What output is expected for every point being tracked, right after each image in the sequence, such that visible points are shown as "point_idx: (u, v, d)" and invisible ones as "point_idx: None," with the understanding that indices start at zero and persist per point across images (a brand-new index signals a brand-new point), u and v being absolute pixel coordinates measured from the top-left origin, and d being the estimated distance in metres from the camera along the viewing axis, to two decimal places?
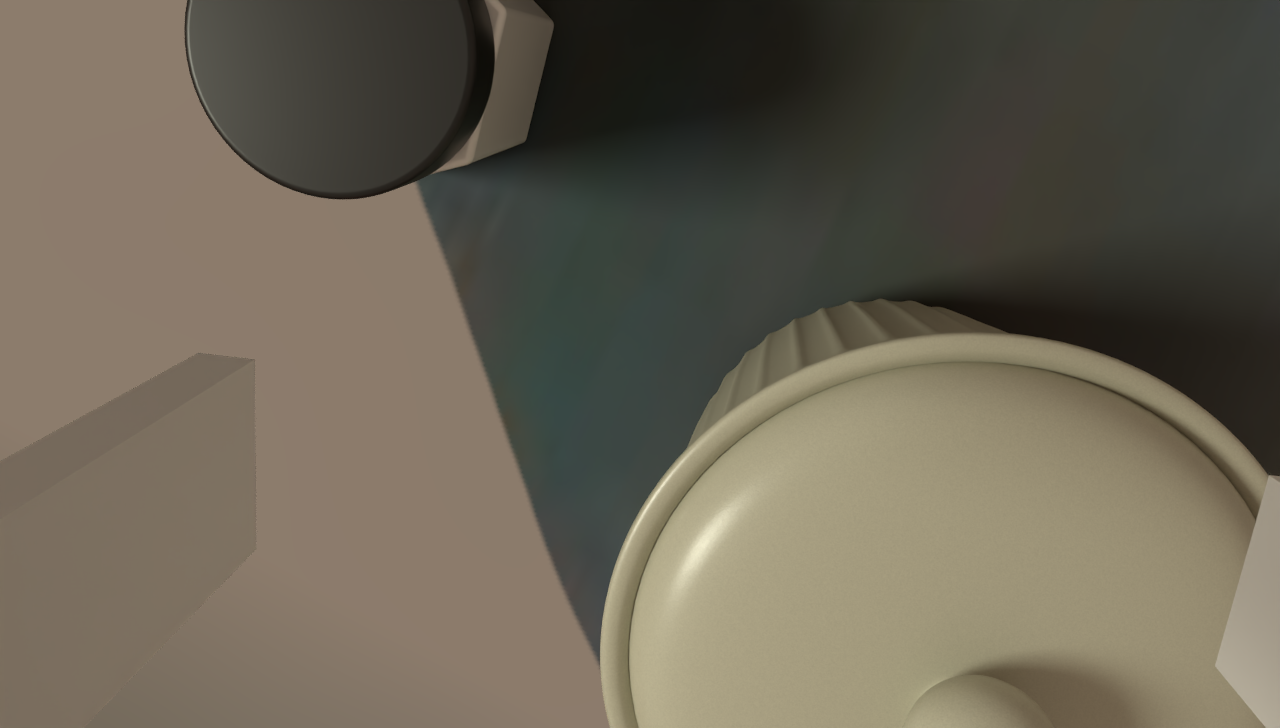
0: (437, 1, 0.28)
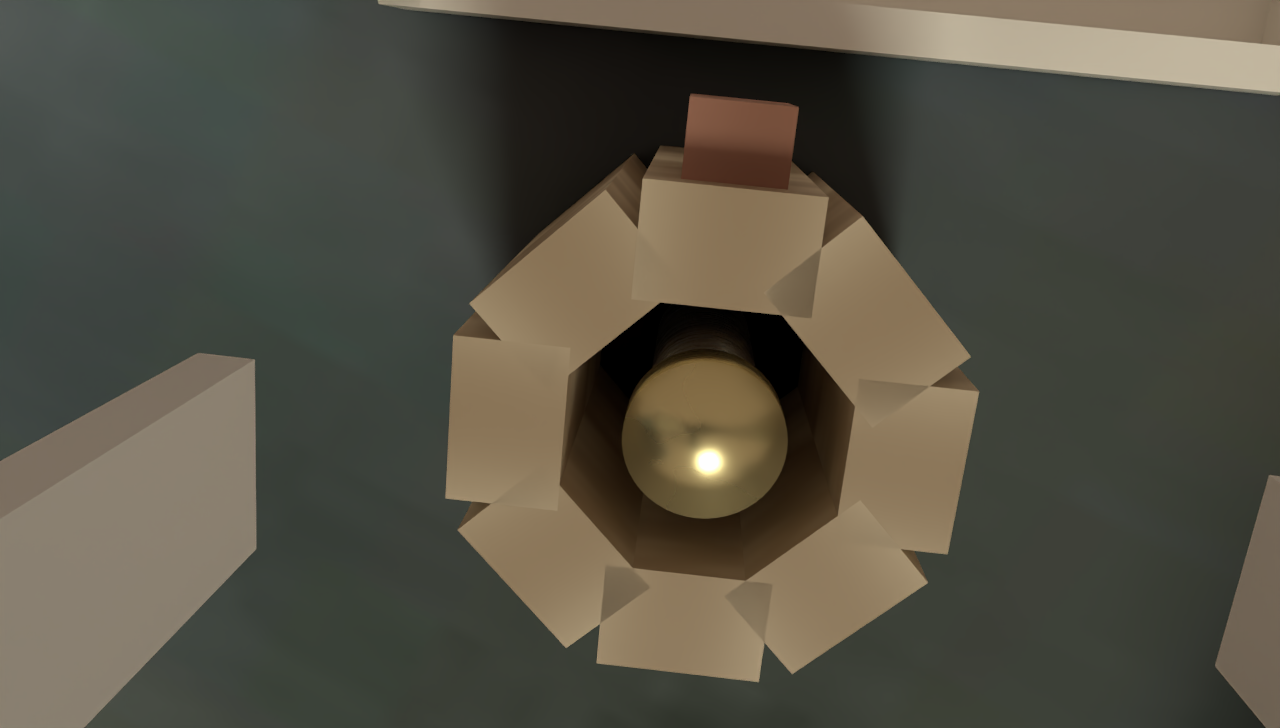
0: None
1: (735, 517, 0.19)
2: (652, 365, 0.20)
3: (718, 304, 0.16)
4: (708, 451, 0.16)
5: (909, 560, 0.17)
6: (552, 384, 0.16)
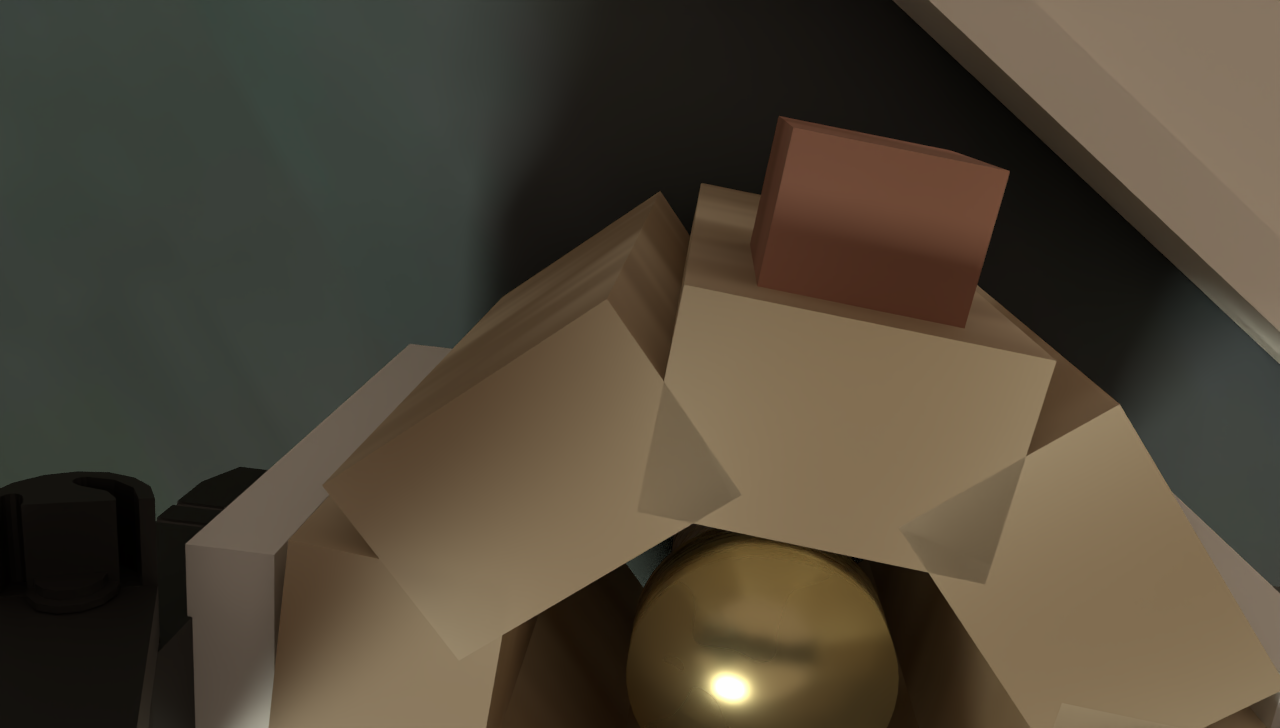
0: None
1: None
2: None
3: (806, 538, 0.08)
4: (756, 695, 0.10)
5: None
6: (471, 648, 0.08)
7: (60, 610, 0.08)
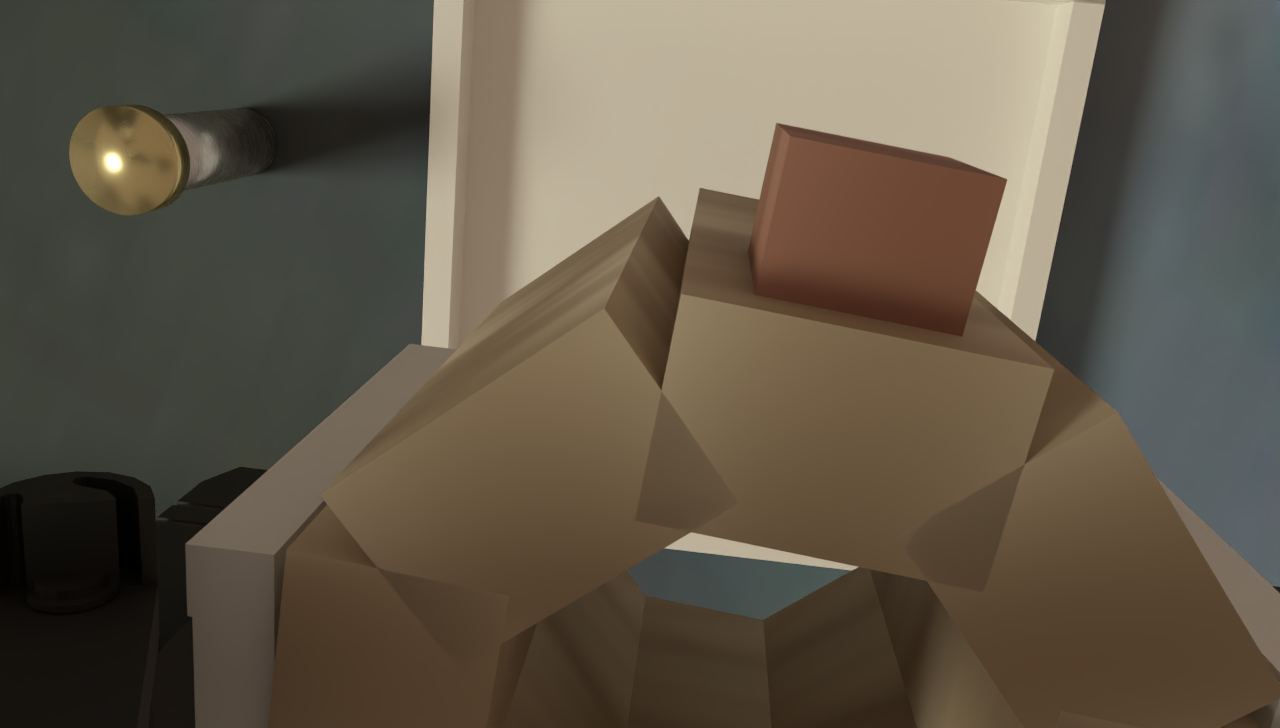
0: None
1: None
2: (197, 113, 0.28)
3: (804, 547, 0.08)
4: (115, 164, 0.25)
5: None
6: (469, 657, 0.08)
7: (61, 608, 0.08)
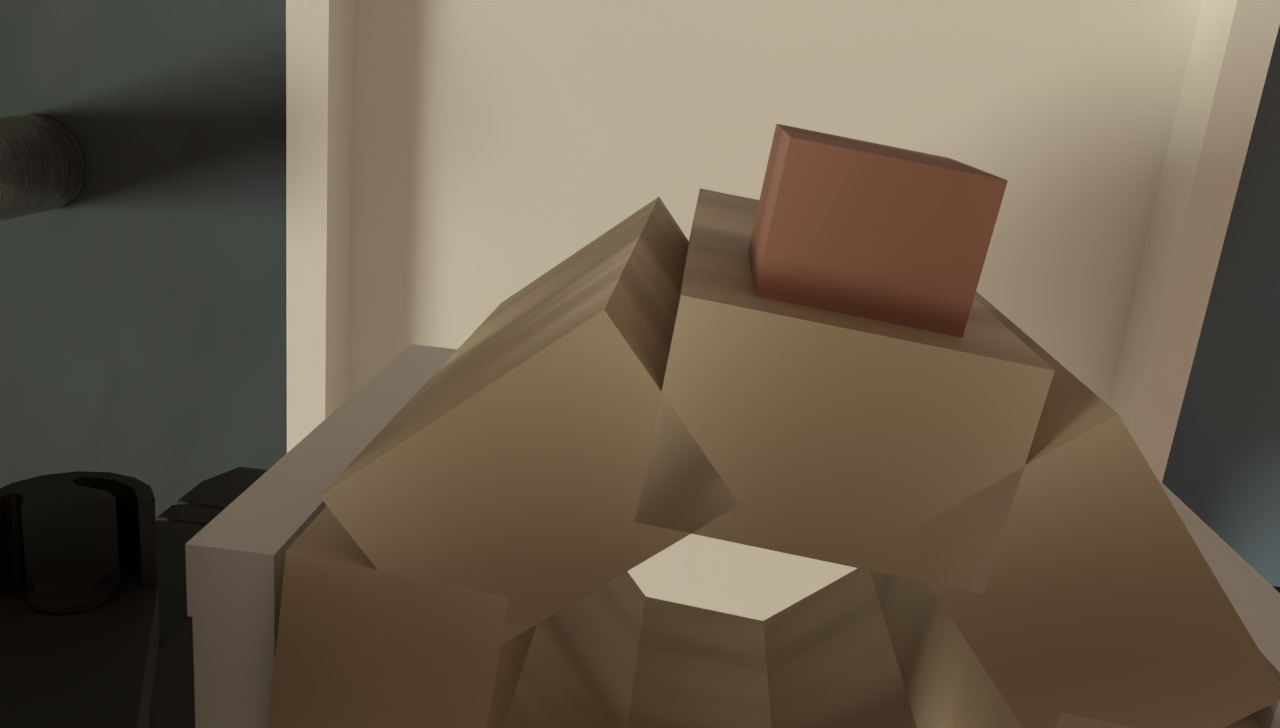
0: None
1: None
2: None
3: (804, 548, 0.08)
4: None
5: None
6: (469, 658, 0.08)
7: (60, 610, 0.08)
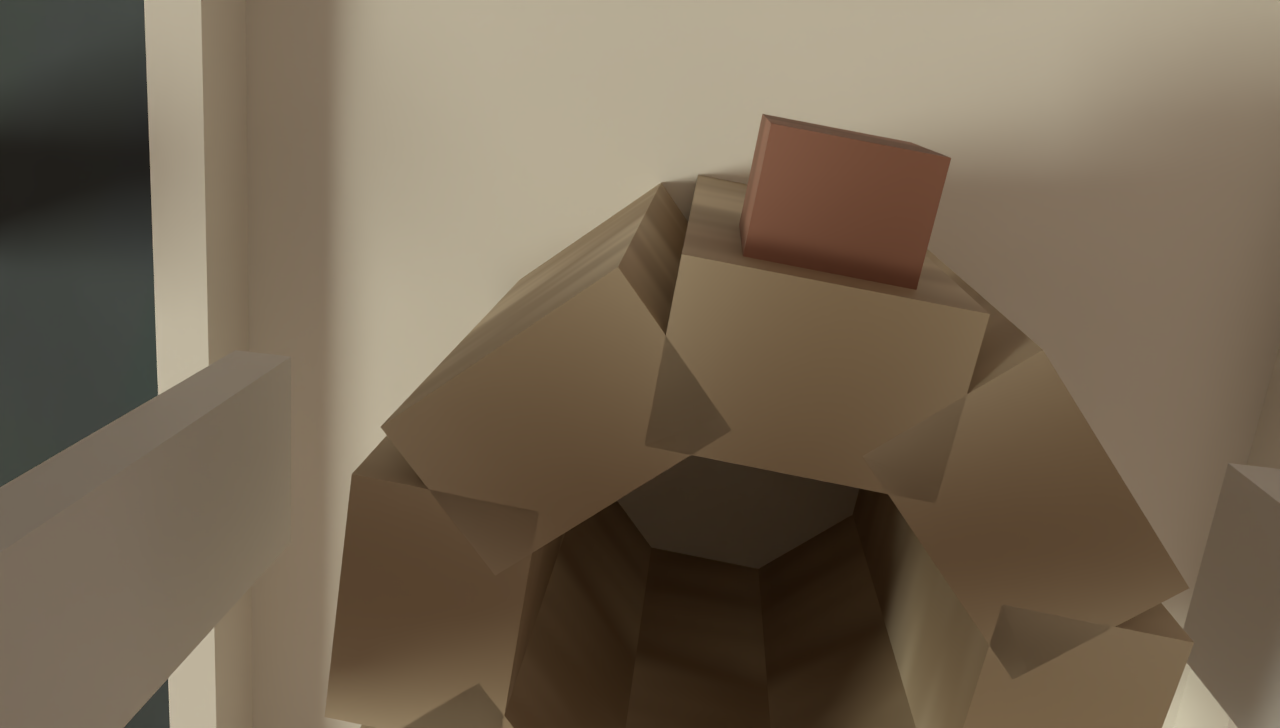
0: None
1: None
2: None
3: (786, 466, 0.10)
4: None
5: None
6: (505, 564, 0.10)
7: None
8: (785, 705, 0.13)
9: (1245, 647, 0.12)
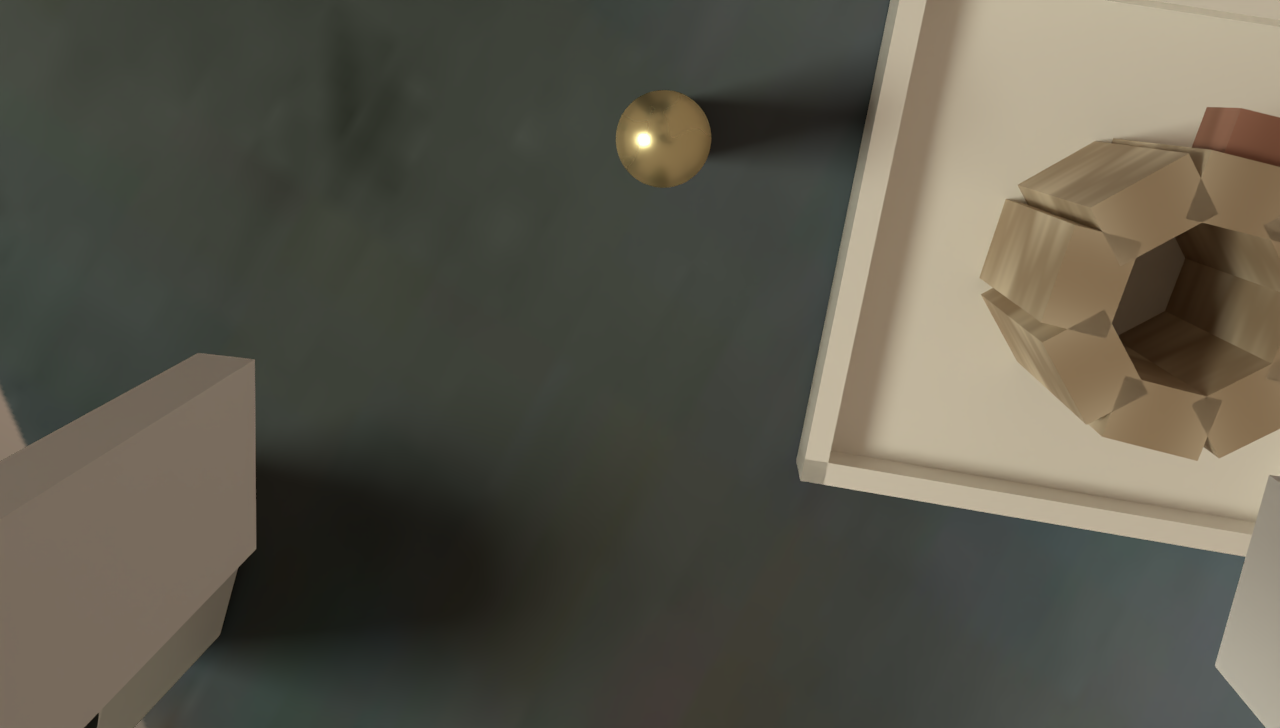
0: None
1: (1166, 372, 0.31)
2: None
3: (1234, 228, 0.27)
4: (657, 141, 0.29)
5: None
6: (1125, 262, 0.28)
7: None
8: (1170, 365, 0.31)
9: None
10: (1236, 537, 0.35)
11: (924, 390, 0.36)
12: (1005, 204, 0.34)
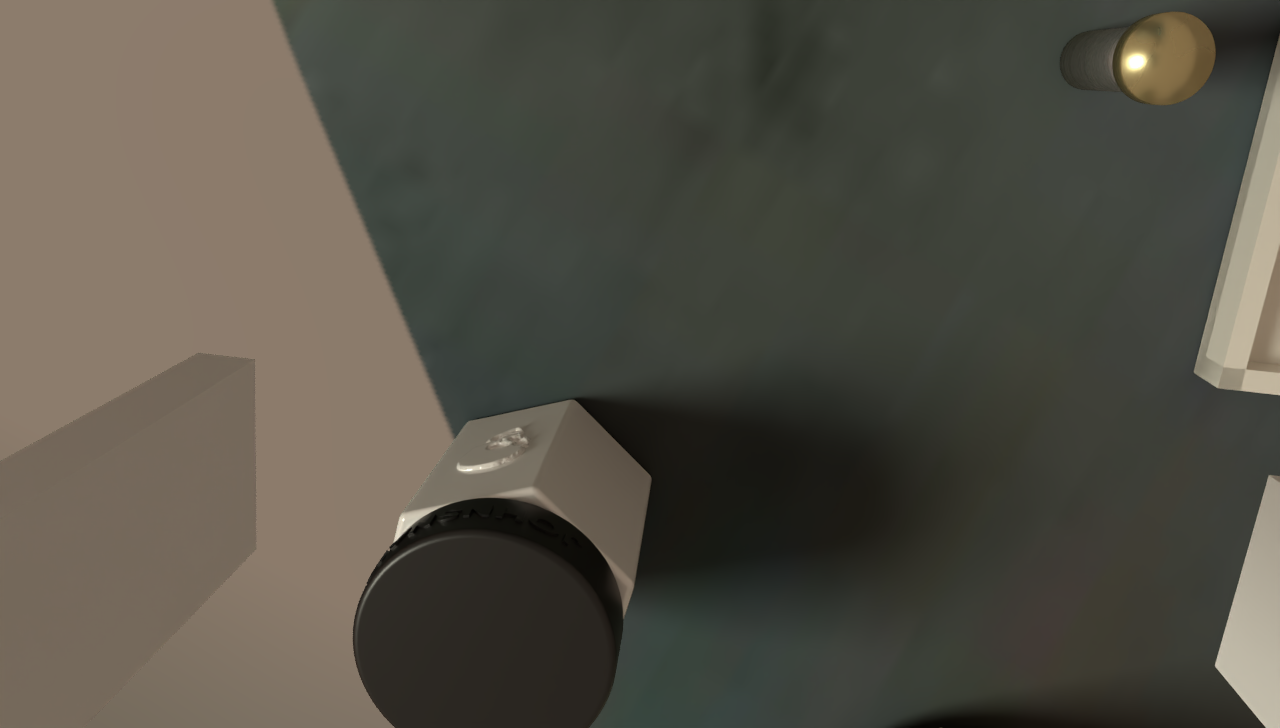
0: (583, 622, 0.31)
1: None
2: None
3: None
4: (1162, 61, 0.30)
5: None
6: None
7: None
8: None
9: None
10: None
11: None
12: None
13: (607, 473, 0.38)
